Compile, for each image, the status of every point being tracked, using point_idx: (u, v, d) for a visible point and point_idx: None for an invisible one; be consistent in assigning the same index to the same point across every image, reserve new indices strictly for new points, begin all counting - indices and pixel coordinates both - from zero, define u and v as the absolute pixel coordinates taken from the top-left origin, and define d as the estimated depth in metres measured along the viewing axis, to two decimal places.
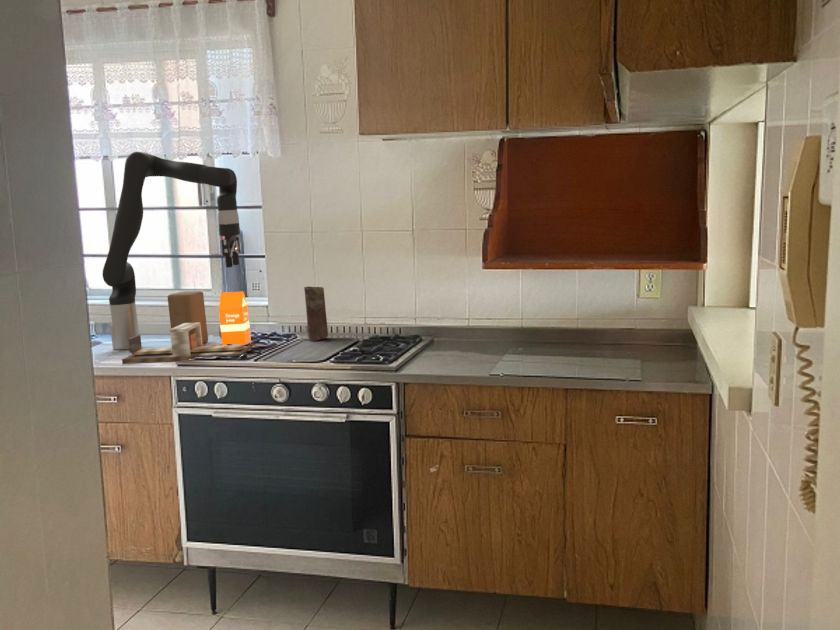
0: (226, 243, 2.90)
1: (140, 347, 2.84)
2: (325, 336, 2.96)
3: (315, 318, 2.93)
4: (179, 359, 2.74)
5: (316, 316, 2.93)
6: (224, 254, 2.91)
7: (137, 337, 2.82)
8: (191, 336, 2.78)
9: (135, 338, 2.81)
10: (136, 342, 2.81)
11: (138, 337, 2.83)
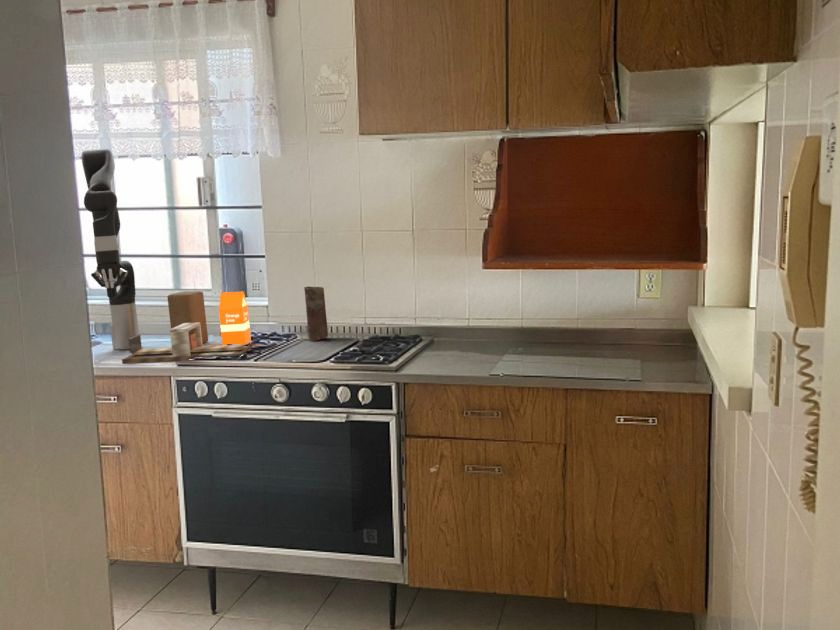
0: (125, 275, 2.78)
1: (140, 347, 2.84)
2: (325, 336, 2.96)
3: (315, 318, 2.93)
4: (179, 359, 2.74)
5: (316, 316, 2.93)
6: (118, 285, 2.78)
7: (137, 337, 2.82)
8: (191, 336, 2.78)
9: (135, 338, 2.81)
10: (136, 342, 2.81)
11: (138, 337, 2.83)
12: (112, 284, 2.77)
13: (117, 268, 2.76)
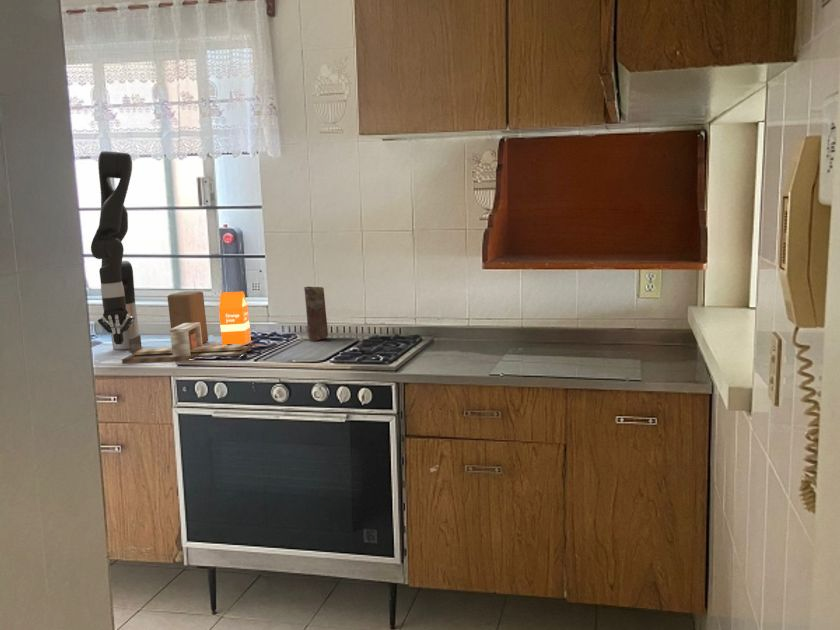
0: (132, 321, 2.81)
1: (140, 347, 2.84)
2: (325, 336, 2.96)
3: (315, 318, 2.93)
4: (179, 359, 2.74)
5: (316, 316, 2.93)
6: (125, 330, 2.80)
7: (137, 337, 2.82)
8: (191, 336, 2.78)
9: (135, 338, 2.81)
10: (136, 342, 2.81)
11: (138, 337, 2.83)
12: (118, 330, 2.80)
13: (123, 314, 2.79)
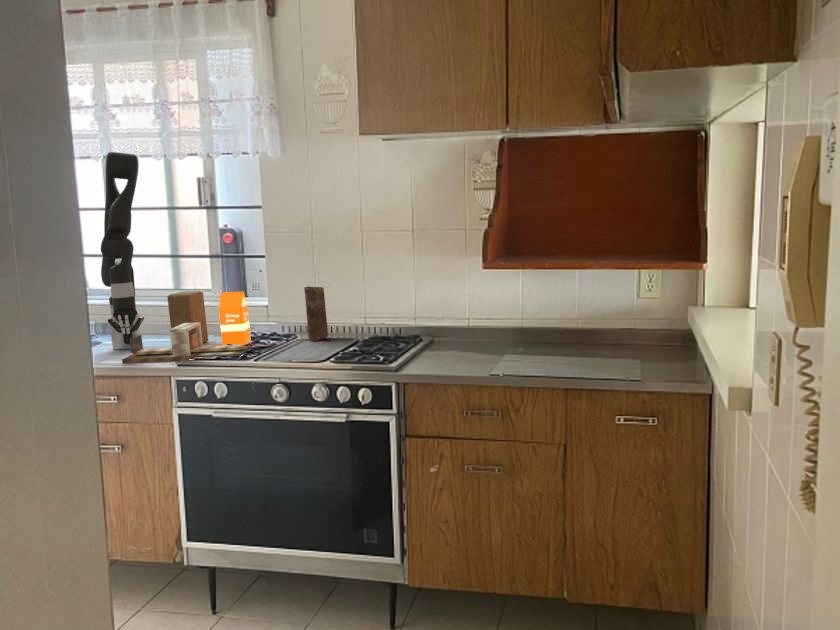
0: (141, 321, 2.80)
1: (141, 347, 2.84)
2: (325, 336, 2.96)
3: (315, 318, 2.93)
4: (179, 359, 2.74)
5: (316, 316, 2.93)
6: (134, 331, 2.80)
7: (138, 337, 2.82)
8: (192, 336, 2.78)
9: (136, 338, 2.81)
10: (137, 342, 2.81)
11: (139, 337, 2.83)
12: (128, 330, 2.79)
13: (133, 314, 2.78)
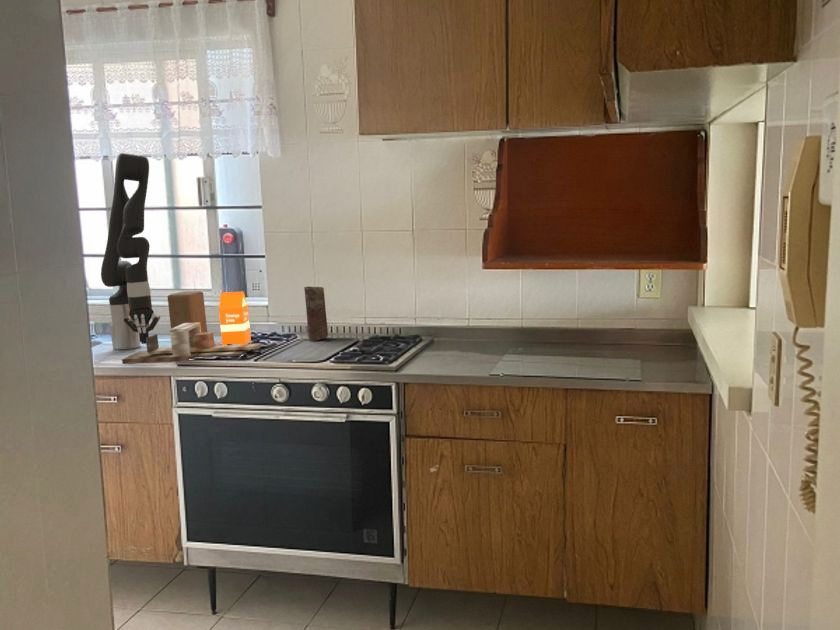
0: (157, 320, 2.80)
1: (157, 346, 2.84)
2: (325, 336, 2.96)
3: (315, 318, 2.93)
4: (179, 359, 2.74)
5: (316, 316, 2.93)
6: (150, 330, 2.79)
7: (154, 336, 2.82)
8: (209, 335, 2.77)
9: (152, 337, 2.80)
10: (153, 341, 2.81)
11: (155, 336, 2.82)
12: (144, 329, 2.79)
13: (149, 313, 2.78)
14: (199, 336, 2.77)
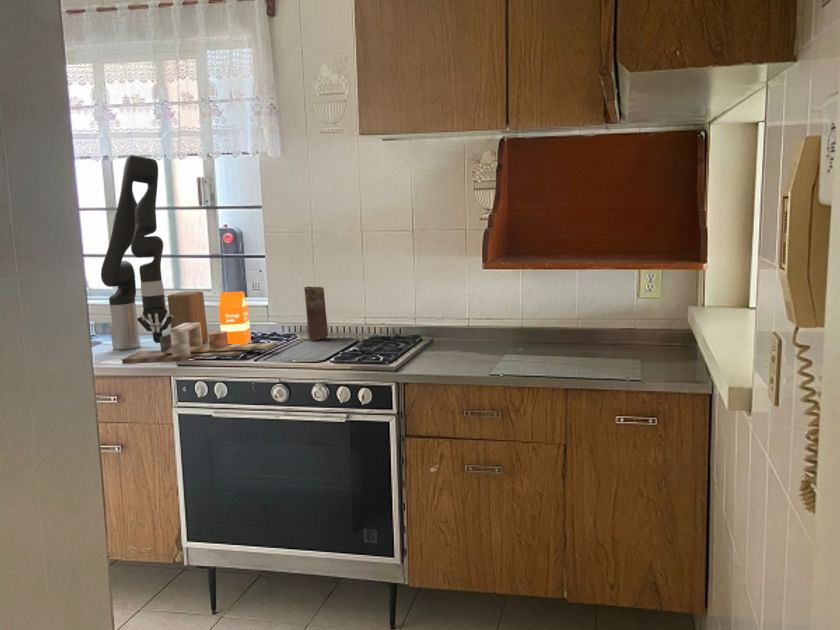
0: (171, 320, 2.79)
1: (171, 346, 2.83)
2: (325, 336, 2.96)
3: (315, 318, 2.93)
4: (179, 359, 2.74)
5: (316, 316, 2.93)
6: None
7: (168, 335, 2.81)
8: (222, 334, 2.77)
9: (166, 336, 2.80)
10: (167, 341, 2.80)
11: (169, 335, 2.82)
12: (157, 329, 2.79)
13: (163, 313, 2.78)
14: (213, 335, 2.76)
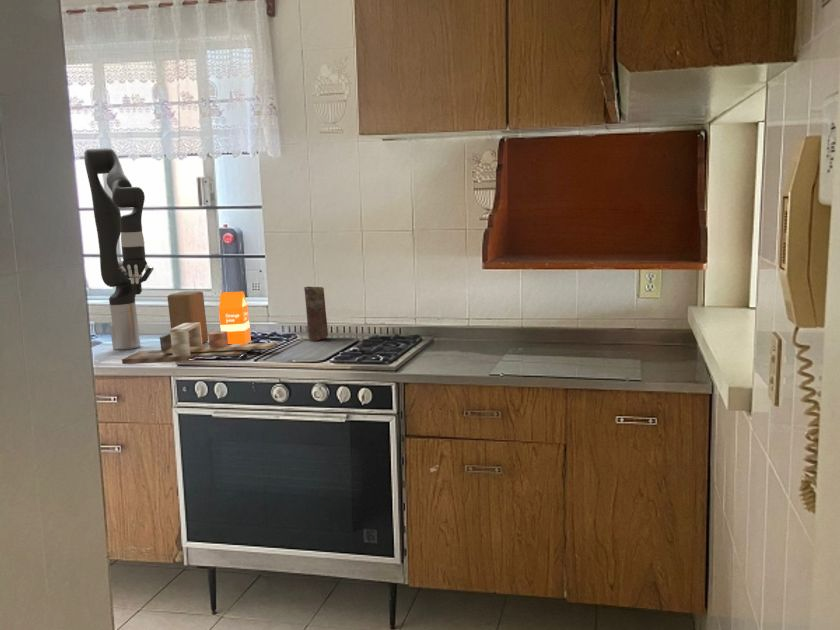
0: (151, 271, 2.80)
1: (171, 346, 2.83)
2: (325, 336, 2.96)
3: (315, 318, 2.93)
4: (179, 359, 2.74)
5: (316, 316, 2.93)
6: (143, 281, 2.79)
7: (168, 335, 2.81)
8: (223, 334, 2.77)
9: (166, 336, 2.80)
10: (167, 340, 2.80)
11: (169, 335, 2.82)
12: (137, 280, 2.79)
13: (143, 264, 2.78)
14: (213, 335, 2.76)
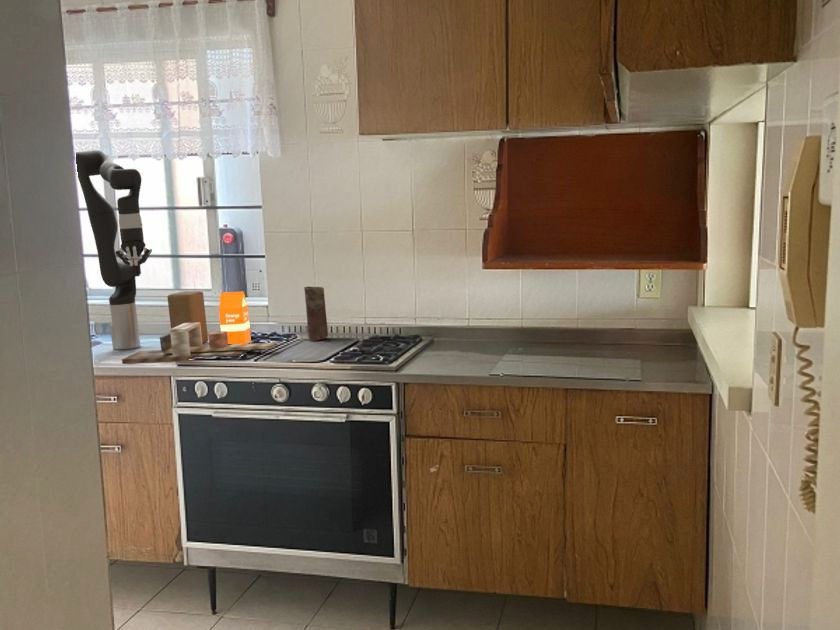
0: (149, 253, 2.80)
1: (171, 346, 2.83)
2: (325, 336, 2.96)
3: (315, 318, 2.93)
4: (179, 359, 2.74)
5: (316, 316, 2.93)
6: (142, 262, 2.80)
7: (168, 335, 2.81)
8: (223, 334, 2.77)
9: (166, 336, 2.80)
10: (167, 340, 2.80)
11: (169, 335, 2.82)
12: (135, 262, 2.79)
13: (141, 246, 2.78)
14: (213, 335, 2.76)
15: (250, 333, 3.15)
